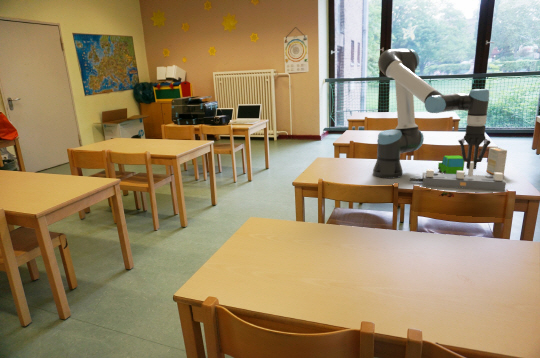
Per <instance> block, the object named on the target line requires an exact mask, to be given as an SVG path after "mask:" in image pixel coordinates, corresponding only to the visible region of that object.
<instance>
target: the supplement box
mask: <svg viewBox="0 0 540 358" xmlns="http://www.w3.org/2000/svg"><path fill="white" fill-rule="evenodd" d="M507 154H508V150H507V149H504V148H501V147H495V146H494V147H489V149H488V157H487V165H486V172H487V173H489V174H491V175H492V176H494V172H500V173H502V174H503V176H504V175H505V168H506V161H507Z"/></svg>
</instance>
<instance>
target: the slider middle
mask: <svg viewBox="0 0 540 358" xmlns="http://www.w3.org/2000/svg"><path fill="white" fill-rule="evenodd" d="M464 175H466V174H465V171H457V172H456V178H459V179H464Z"/></svg>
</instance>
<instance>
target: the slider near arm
mask: <svg viewBox="0 0 540 358" xmlns="http://www.w3.org/2000/svg"><path fill="white" fill-rule="evenodd" d="M425 173H426V177H433V175H434V173H435V169H432V168H430V169H429V168H427V169H426V172H425Z"/></svg>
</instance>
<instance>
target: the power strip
mask: <svg viewBox="0 0 540 358" xmlns="http://www.w3.org/2000/svg"><path fill="white" fill-rule="evenodd" d="M493 176H494V175H479V174H473V177H470V176H468V174H464V179H459V178H456V174H444V173H443V172H439V173H438V172H437V173H436V172H434V175H433V177H426V172H422V178H421V177H420V178H419V177H409V182H421V183H422V187H431V188H432V187H436V188H437V187H438V188H448V189H449V188H450V189H463V190H464V189H466V190H467V189H468V190H482V191H496V192H497V191H498V192H505V191H506V184H507V181H506V180H504V179H502V181H497V180H494V179H493Z"/></svg>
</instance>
